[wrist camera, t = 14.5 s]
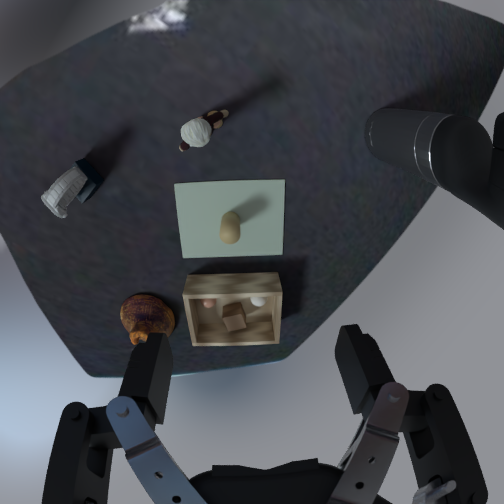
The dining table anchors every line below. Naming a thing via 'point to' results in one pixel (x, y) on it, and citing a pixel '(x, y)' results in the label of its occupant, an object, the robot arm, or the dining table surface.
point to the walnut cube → (234, 316)
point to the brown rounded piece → (146, 317)
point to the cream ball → (258, 300)
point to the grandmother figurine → (201, 129)
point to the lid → (231, 217)
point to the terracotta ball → (208, 302)
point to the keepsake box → (228, 292)
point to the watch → (72, 187)
